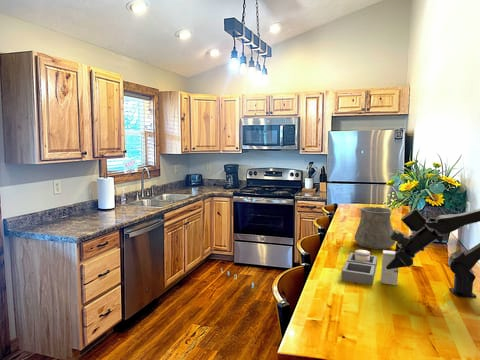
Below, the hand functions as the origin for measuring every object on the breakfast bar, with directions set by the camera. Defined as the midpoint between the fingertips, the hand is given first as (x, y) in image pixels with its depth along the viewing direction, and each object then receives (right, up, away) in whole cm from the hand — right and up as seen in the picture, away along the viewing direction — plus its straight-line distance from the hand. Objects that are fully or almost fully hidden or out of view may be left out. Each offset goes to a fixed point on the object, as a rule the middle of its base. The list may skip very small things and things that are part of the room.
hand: (387, 264), depth 139 cm
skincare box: (+1, -7, 0) cm, 7 cm away
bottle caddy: (-7, -6, +11) cm, 14 cm away
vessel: (+12, -2, +47) cm, 48 cm away
